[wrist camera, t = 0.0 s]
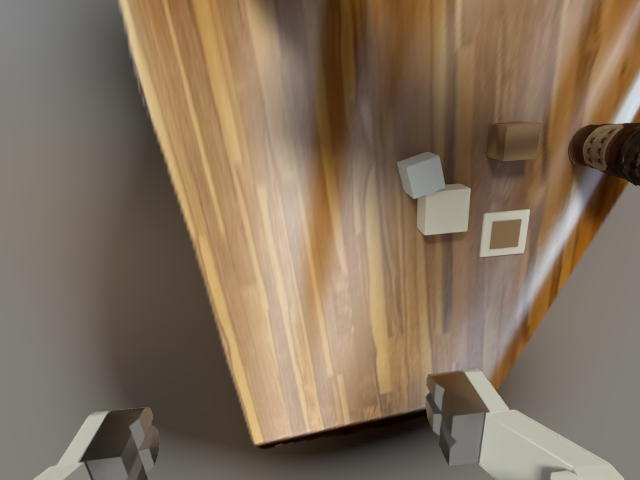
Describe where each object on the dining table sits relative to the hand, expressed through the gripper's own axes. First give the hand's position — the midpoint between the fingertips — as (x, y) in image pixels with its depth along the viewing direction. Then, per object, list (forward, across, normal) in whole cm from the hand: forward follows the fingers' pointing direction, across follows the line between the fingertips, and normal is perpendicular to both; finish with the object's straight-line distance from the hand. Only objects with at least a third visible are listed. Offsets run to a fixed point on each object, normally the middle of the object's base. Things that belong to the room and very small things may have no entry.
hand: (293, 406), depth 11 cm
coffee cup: (+48, -48, +1) cm, 68 cm away
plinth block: (+48, -24, +9) cm, 55 cm away
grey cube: (+48, -20, +3) cm, 52 cm away
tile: (+48, -36, +15) cm, 62 cm away
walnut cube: (+48, -34, -1) cm, 59 cm away
